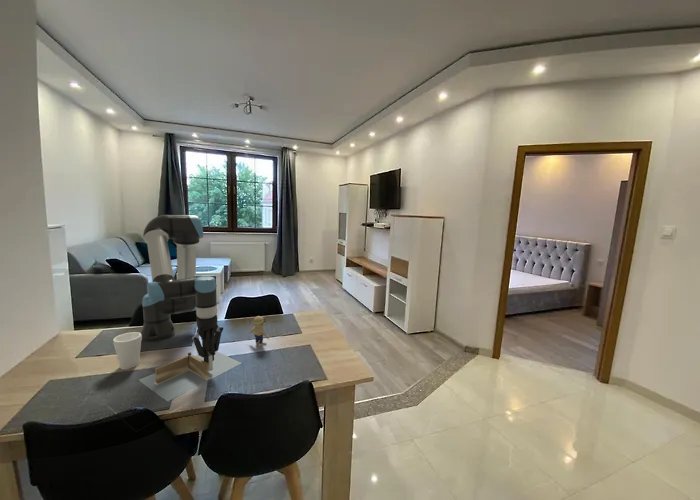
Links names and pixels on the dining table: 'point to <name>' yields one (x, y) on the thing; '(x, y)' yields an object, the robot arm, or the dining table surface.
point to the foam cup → (128, 349)
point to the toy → (259, 330)
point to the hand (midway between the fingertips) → (209, 369)
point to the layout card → (188, 378)
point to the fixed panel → (171, 369)
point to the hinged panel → (198, 365)
